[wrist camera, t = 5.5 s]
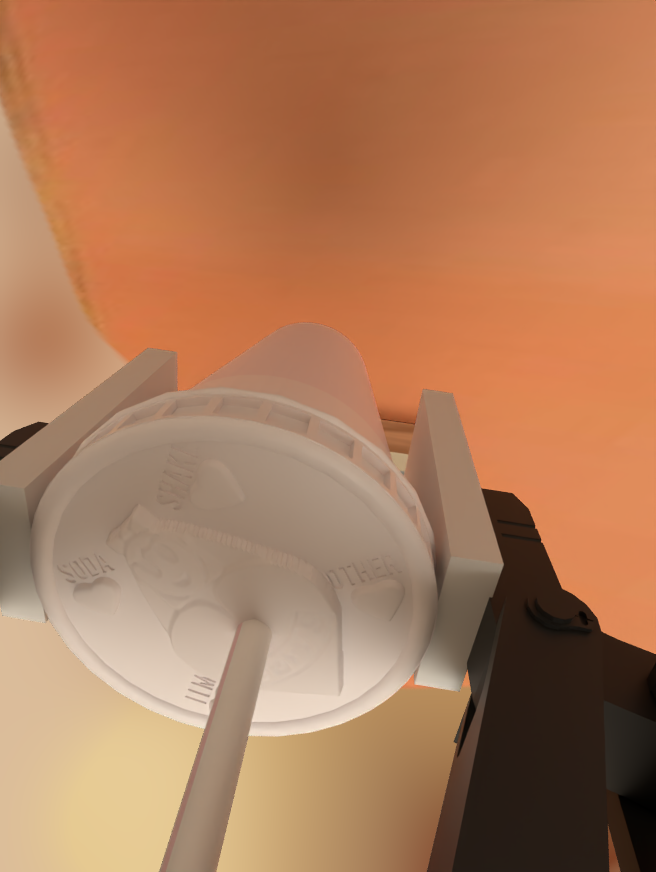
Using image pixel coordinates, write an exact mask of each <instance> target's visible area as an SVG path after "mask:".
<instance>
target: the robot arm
mask: <svg viewBox="0 0 656 872" xmlns="http://www.w3.org/2000/svg"><path fill="white" fill-rule="evenodd" d="M174 391H177V352H173V351H166V350H160V349H153V348H147V349H146V350H145V351H143V352H142V353H141V354H139V355H138V356H137V357H136V358H134V359H133V360H132V361H130V362H129V363H128V364H126V365H125V366H124V367H122V368H121V369H120V370H119V371H117V372H116V373H115V374H113V375H112V376H111V377H110V378H108V379H107V380H105V381H104V382H103V383H101V384H100V385H99V386H98V387H96V388H95V389H94V390H92V391H91V392H90V393H89V394H87V395H86V396H84V397H83V398H82V399H80V400H79V401H78V402H77V403H75V404H74V405H73V406H71V407H70V408H69V409H67V410H66V411H65V412H63V413H62V414H61V415H60V416H58V417H57V418H56V419H54V420H53V421H52V422H51V423H43V422H37V423H34V424H31V425H29V426H26V427H23V428H21V429H18V430H15V431H14V432H12V433H11V434H9V435H8V436H6V437H5V438H3V439H2V440H1V441H0V607H1V612H2V616H7V617H12V618H19V619H24V620H30V621H37V622H42V623H46V622H47V620H48V616H47V614H46V612H45V610H44V608H43V606H42V604H41V602H40V599H39V596H38V594H37V591H36V588H35V584H34V581H33V577H32V571H31V564H30V547H29V545H30V535H31V528H32V523H33V519H34V515H35V512H36V510H37V507H38V504H39V502H40V499H41V498H42V496H43V494H44V492H45V490H46V489H47V487H48V485H49V484H50V483H51V481H52V480H53V479H54V477H55V476H56V475H57V473H58V472H59V471H60V470H61V469H62V468H63V467H64V466H65V465H66V464H67V463H68V462H69V461H70V460H71V459H72V458H73V457H74V455H75V453H76V451H77V450H78V448H79V446H80V445H81V443H82V442H83V441H84V440H85V439H86V438H87V437H89V436H90V435H91V434H92V433H93V432H95V431H96V430H97V429H98V428H99V427H101V426H102V425H103V424H104V423H106V422H107V421H108V420H109V419H110V418H112V417H113V416H114V415H115V414H116V413H118V412H119V411H122V410H124V409H127V408H129V407H131V406H134V405H136V404H139V403H141V402H144V401H146V400H149V399H151V398H154V397H156V396H159V395H161V394H164V393H166V392H174ZM404 477H405V478H406V479H407V480H408V482H409V483H410V484H411V485H412V486H413V488H414V489H415V490H416V492H417V495H418V497H419V499H420V502H421V504H422V507H423V509H424V511H425V514H426V516H427V519H428V521H429V523H430V526H431V528H432V531H433V533H434V540H435V554H436V572H435V576H436V583H437V593H438V611H437V619H436V625H435V630H434V633H433V637H432V640H431V643H430V645H429V648H428V650H427V652H426V654H425V656H424V658H423V660H422V661H421V663H420V665H419V666H418V668H417V669H416V671H415V672H414V684H417V685H423V686H429V687H435V688H441V689H447V690H453V691H460V689H461V686H462V683H463V680H464V678H465V675H466V672H467V669H468V674H469V680H470V686H471V692H472V693H471V696H470V698H469V701H468V704H467V707H466V709H465V712H464V715H463V718H462V720H461V723H460V726H459V729H458V731H457V734H456V737H455V740H454V742H455V743H457V746H456V751H455V755H454V759H453V763H452V767H451V772H450V776H449V780H448V784H447V789H446V793H445V797H444V801H443V806H442V810H441V814H440V818H439V823H438V827H437V831H436V835H435V839H434V844H433V848H432V853H431V856H430V861H429V865H428V870H427V872H609V849H608V826H609V830H610V833H611V837H612V841H613V844H614V848H615V852H616V856H617V860H618V863H619V867H620V871H621V872H656V654H654V653H651V652H649V651H646V650H643V649H641V648H638V647H636V646H633V645H631V644H628V643H625V642H623V641H620V640H618V639H616V638H614V637H612V636H609V635H607V634H605V633H603V632H602V631H601V629H600V626H599V622H598V619H597V617H596V616H595V615H594V614H593V612H592V611H591V610H590V609H589V607H588V606H587V605H586V604H585V603H583V602H582V601H581V600H579V599H578V598H577V597H576V596H574V595H573V594H571V593H569V592H567V591H565V590H563V589H562V588H561V585H560V583H559V581H558V578H557V576H556V573H555V571H554V569H553V566H552V564H551V561H550V559H549V557H548V554H547V552H546V550H545V547H544V545H543V543H541V538H540V535H539V533H538V530H537V529H535V523H534V521H533V519H532V516H531V514H530V511H529V509H528V508H527V507H526V506H525V505H524V504H523V503H522V502H521V501H520V500H519V499H518V498H517V497H516V496H515V495H514V494H513V493H508V492H501V491H495V490H488V489H482V488H481V486H480V483H479V480H478V476H477V473H476V470H475V466H474V463H473V460H472V456H471V453H470V450H469V446H468V443H467V440H466V436H465V433H464V430H463V426H462V423H461V420H460V416H459V413H458V409H457V406H456V403H455V399H454V396H453V393H447V392H440V391H434V390H427V389H423V390H422V395H421V399H420V404H419V409H418V413H417V418H416V422H415V427H414V431H413V436H412V441H411V445H410V450H409V454H408V459H407V463H406V468H405V473H404Z"/></svg>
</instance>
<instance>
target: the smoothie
mask: <svg viewBox="0 0 656 872" xmlns="http://www.w3.org/2000/svg"><path fill="white" fill-rule="evenodd" d="M29 547H30V564H31V571H32V577H33V581H34V584H35V588H36V591H37V594H38V596H39V599H40V602H41V604H42V606H43V608H44V610H45V612H46V614H47V616H48V619H49V621H50V623H51V624H52V626H53V627H54V628H55V630H56V631H57V633H58V634H59V636H60V637H61V638H62V640H63V641H64V642H65V644H66V645H67V647H68V648H69V649H70V650H71V652H72V653H73V654H74V655H76V657H77V658H78V659H79V660H80V661H81V662H82V663H83V664H84V665H85V666H86V667H87V668H88V669H89V670H90V671H91V672H92V673H94V674H95V675H96V676H98V677H99V678H100V679H101V680H103V681H104V682H106V683H107V684H108V685H109V686H111V687H112V688H113V689H115V690H116V691H117V692H119V693H120V694H122V695H124V696H125V697H127V698H129V699H131V700H133V701H134V702H136V703H138V704H140V705H142V706H143V707H145V708H147V709H149V710H151V711H154V712H156V713H158V714H161V715H163V716H166V717H168V718H171V719H173V720H175V721H178V722H181V723H184V724H188V725H192V726H196V727H199V728H203V729H204V733H203V736H202V739H201V742H200V745H199V748H198V751H197V755H196V758H195V761H194V764H193V767H192V770H191V773H190V777H189V780H188V783H187V786H186V790H185V792H184V796H183V799H182V802H181V805H180V808H179V811H178V814H177V817H176V821H175V824H174V827H173V830H172V834H171V836H170V840H169V842H168V846H167V849H166V852H165V855H164V858H163V861H162V864H161V868H160V871H159V872H216V870H217V866H218V862H219V857H220V853H221V849H222V845H223V840H224V836H225V832H226V828H227V824H228V820H229V815H230V811H231V807H232V803H233V799H234V794H235V790H236V786H237V782H238V777H239V773H240V768H241V765H242V761H243V756H244V752H245V748H246V744H247V740H248V736H285V735H294V734H301V733H310V732H314V731H318V730H322V729H325V728H329V727H332V726H336V725H340V724H343V723H345V722H347V721H349V720H351V719H354V718H356V717H358V716H360V715H362V714H364V713H366V712H368V711H371V710H372V709H373V708H375V707H377V706H378V705H380V704H381V703H383V702H384V701H386V700H387V699H388V698H389V697H391V696H392V695H393V694H394V693H396V692H397V691H398V690H399V689H400V688H401V687H402V686H403V685H404V684H405V683H406V682H407V681H408V680H409V678H410V677H411V676H412V675H413V673H414V672H415V671H416V669H417V668H418V666H419V665H420V663H421V661H422V660H423V658H424V656H425V654H426V652H427V650H428V648H429V645H430V643H431V640H432V637H433V633H434V630H435V625H436V619H437V611H438V593H437V583H436V576H435V572H436V554H435V540H434V533H433V531H432V528H431V526H430V523H429V521H428V519H427V516H426V514H425V511H424V509H423V507H422V504H421V502H420V499H419V497H418V495H417V492H416V490H415V489H414V488H413V486H412V485H411V484H410V483H409V482H408V480H407V479H406V478H405V477H404V475H403V474H402V473H401V472H400V471H399V469H398V468H397V467H396V466H395V464H394V463H393V461H392V458H391V454H390V451H389V447H388V444H387V440H386V437H385V433H384V430H383V426H382V423H381V419H380V416H379V412H378V409H377V405H376V402H375V398H374V395H373V391H372V388H371V384H370V381H369V377H368V374H367V370H366V367H365V364H364V361H363V359H362V356H361V354H360V353H359V351H358V350H357V348H356V347H355V346H354V344H353V343H352V342H351V341H350V340H349V339H348V338H347V337H345V336H344V335H343V334H341V333H340V332H338V331H337V330H335V329H333V328H330V327H328V326H325V325H322V324H317V323H308V322H303V323H294V324H290V325H287V326H284V327H282V328H279V329H277V330H276V331H274V332H273V333H271V334H270V335H268V336H267V337H265V338H264V339H262V340H261V341H259V342H258V343H256V344H255V345H254V346H252V347H251V348H249V349H248V350H246V351H245V352H243V353H242V354H240V355H239V356H238V357H236V358H235V359H233V360H232V361H230V362H229V363H227V364H226V365H224V366H223V367H221V368H220V369H219V370H217V371H216V372H214V373H213V374H211V375H210V376H208V377H207V378H205V379H204V380H203V381H201V382H200V383H198V384H197V385H195V386H194V387H192V388H191V389H189V390H184V391H174V392H166V393H164V394H161V395H159V396H156V397H154V398H151V399H149V400H146V401H144V402H141V403H139V404H136V405H134V406H131V407H129V408H127V409H124V410H122V411H119V412H118V413H116V414H115V415H114V416H113V417H112V418H110V419H109V420H108V421H107V422H106V423H104V424H103V425H102V426H101V427H99V428H98V429H97V430H96V431H95V432H93V433H92V434H91V435H90V436H89V437H87V438H86V439H85V440H84V441H83V442H82V443H81V445H80V446H79V448H78V450H77V451H76V453H75V455H74V457H73V458H72V459H71V460H70V461H69V462H68V463H67V464H66V465H65V466H64V467H63V468H62V469H61V470H60V471H59V472H58V473H57V475H56V476H55V477H54V479H53V480H52V481H51V483H50V484H49V485H48V487H47V489H46V490H45V492H44V494H43V496H42V498H41V499H40V502H39V504H38V507H37V510H36V512H35V515H34V519H33V523H32V528H31V535H30V545H29Z"/></svg>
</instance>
